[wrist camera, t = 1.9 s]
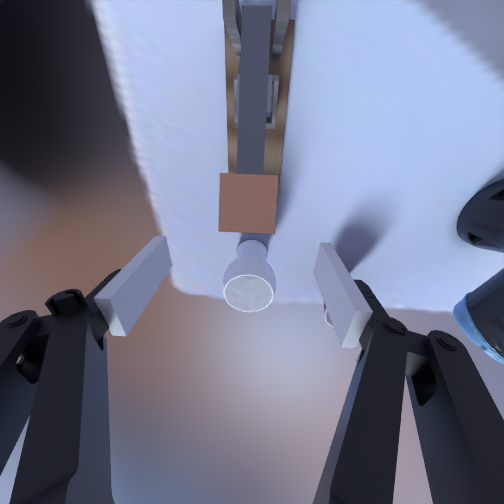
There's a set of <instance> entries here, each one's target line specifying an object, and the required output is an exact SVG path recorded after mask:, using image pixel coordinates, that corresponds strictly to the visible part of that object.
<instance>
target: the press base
mask: <svg viewBox="0 0 504 504" xmlns="http://www.w3.org/2000/svg"><path fill="white" fill-rule="evenodd" d="M290 1H291V0H277V2H276V11H275V20H271V31H270V51H269V71H268V75H272V93H271V112H270V117H266V132H265V153H264V173H263V175H278V189H277V201H278V191H279V181H280V170H281V160H282V149H283V139H284V128H285V118H286V108H287V97H288V87H289V76H290V66H291V56H292V45H293V35H294V24H295V20H289V12H290ZM222 3H223V20H224V29H225V64H226V99H227V134H228V169H229V173H231V174H236V169H237V140H238V116H237V113H236V102H237V74H240V56H241V27H242V17H241V11H240V6H239V0H222Z"/></svg>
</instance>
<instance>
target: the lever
mask: <svg viewBox="0 0 504 504" xmlns="http://www.w3.org/2000/svg"><path fill="white" fill-rule="evenodd" d="M271 11H272V6H242V27H241V56H240V74H237V102H236V113H237V116H238V140H237V169H236V174H231V173H220V195H219V231H220V232H242V233H264V234H275V224H276V207H277V189H278V175H263V173H264V153H265V132H266V117H270V112H271V93H272V75H268V71H269V51H270V31H271Z"/></svg>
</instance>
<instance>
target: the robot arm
mask: <svg viewBox="0 0 504 504" xmlns="http://www.w3.org/2000/svg"><path fill="white" fill-rule="evenodd" d="M457 232H458V235H459V236H460V238H461V239H462V240H464V241H465V242H467V243H469V244H471V245H473V246H475V247H478V248H482V249H487V250H493V251H498V252H503V253H504V179H503V180H500V181H498V182H496V183H494V184H492V185H490V186H488V187H486V188H485V189H483V190H482V191H481V192H479V193H478V194H477V195H476V196H474V197H473V198H472V199H471V200H470V201H469V203H468V204H467V205H466V206H465V207H464V209H463V210H462V212H461V214H460V216H459V219H458V222H457ZM171 267H172V262H171V258H170V253H169V248H168V244H167V239H166V236H155V237H154V238H153V239H152V240H151V241H150V242H149V243H148V244H147V245H146V246H145V247H144V248H143V249H142V250H141V251H140V252H139V253H138V254H137V255H136V256H135V257H134V258H133V259H132V260H131V261H130V262H129V263H128V264H127V265H126V266H125V267H124V268H123V269H118V270H116V271H114V272H113V273H111V274H110V275H108V276H107V277H106V278H105V279H104V281H102V282H101V283H100V284H99V286H97V287H96V288H95V289H94V290H93V291H92V292H91V293H89V294H88V295H87V296H86V297H85V298H84V296H83V295H82V293H81V291H80V290H78V289H69V290H65V291H62V292H59V293H57V294H55V295H53V296H52V297H50V298H49V299H48V300H47V301H46V303H45V305H46V306H47V308H48V309H49V310H50V312H51V313H52V315H47V316H42V317H39V316H38V314H37V313H36V312H35V311H33V310H26V311H21V312H18V313H15V314H13V315H10V316H9V317H7V318H6V319H4V320H2V322H1V323H0V475H1V473H2V471H3V469H4V467H5V465H6V463H7V461H8V459H9V457H10V455H11V453H12V451H13V449H14V447H15V445H16V442H17V441H18V439H19V436H20V434H21V432H22V430H23V428H24V426H25V424H26V422H27V420H28V418H29V416H30V419H29V423H28V427H27V432H26V436H25V440H24V444H23V448H22V453H21V457H20V461H19V466H18V469H17V474H16V478H15V482H14V487H13V491H12V495H11V500H10V503H9V504H115V503H114V501H113V497H112V490H111V465H110V435H109V407H108V405H109V404H108V376H107V375H108V374H107V344H106V337H105V335H104V334H105V333H106V331H107V330H108V329H110V331H111V333H112V335H116V336H127V334H128V333H129V331H130V330H131V328H132V327H133V325H134V324H135V322H136V321H137V319H138V318H139V316H140V314H141V313H142V311H143V310H144V308H145V307H146V305H147V304H148V302H149V301H150V299H151V298H152V296H153V295H154V293H155V291H156V290H157V289H158V287H159V285H160V284H161V282H162V281H163V279H164V278H165V276H166V275H167V273H168V272H169V270H170V269H171ZM314 275H315V278H316V280H317V283H318V286H319V289H320V291H321V294H322V297H323V300H324V302H325V305H326V308H327V311H328V313H329V316H330V319H331V322H332V324H333V327H334V330H335V333H336V335H337V338H338V341H339V343H340V346H341V348H356V346H357V344H358V342H360V344H361V346H362V350H361V352H360V354H359V356H358V358H357V360H356V362H357V365H356V368H355V371H354V374H353V377H352V381H351V384H350V387H349V390H348V393H347V396H346V400H345V403H344V406H343V409H342V412H341V415H340V419H339V422H338V425H337V428H336V432H335V435H334V438H333V441H332V444H331V447H330V450H329V454H328V457H327V460H326V463H325V467H324V469H323V473H322V476H321V479H320V482H319V485H318V489H317V492H316V495H315V498H314V501H313V504H392V503H393V494H394V483H395V473H396V463H397V453H398V443H399V433H400V423H401V412H402V401H403V392H404V382H405V375H406V379H407V384H408V388H409V393H410V398H411V403H412V408H413V412H414V417H415V421H416V426H417V431H418V435H419V440H420V445H421V449H422V454H423V458H424V463H425V468H426V473H427V477H428V482H429V487H430V491H431V496H432V501H433V504H504V420H503V418H502V416H501V414H500V412H499V410H498V408H497V407H496V405H495V403H494V401H493V399H492V397H491V395H490V393H489V392H488V389H487V387H486V386H485V383H484V382H483V380H482V378H481V376H480V374H479V372H478V370H477V368H476V366H475V364H474V362H473V361H472V359H471V357H470V355H469V353H468V351H467V349H466V348H465V346H464V345H463V344H462V343H461V342H460V341H459V340H458V339H456V338H455V337H453V336H452V335H450V334H448V333H445V332H443V331H438V330H434V331H431V332H430V333H429V334H428V335H427V336H425V335H421V334H418V333H414V332H411V331H408V330H407V328H406V327H405V326H404V325H403V324H402V323H401V322H400V321H398V320H396V319H394V318H391V317H389V315H388V314H387V313H386V311H385V310H384V308H383V307H382V305H381V304H380V302H379V301H378V299H377V298H376V296H375V295H374V294H373V293H372V291H371V289H370V288H369V286H368V285H367V284H365V283H364V282H363V281H362V280H353V279H352V277H351V275H350V274H349V272H348V270H347V269H346V267H345V265H344V264H343V262H342V261H341V259H340V257H339V256H338V254H337V252H336V251H335V249H334V247H333V246H332V244H331V243H320V247H319V251H318V255H317V260H316V264H315V268H314ZM453 315H454V318H455V320H456V322H457V324H458V325H459V327H460V328H461V329H462V331H463V332H464V333H465V334H466V335H467V336H468V337H469V339H471V341H472V342H474V343H475V344H476V345H478V346H480V348H481V349H482V350H483V351H484V352H485V353H486V354H488V355H489V356H490V357H492V358H493V359H495V360H496V361H498V362H500V363H502V364H504V268H503V269H502V270H501V271H499V272H498V273H497V274H495V275H494V276H493V277H491V278H490V279H489V280H487V281H486V282H485V283H483V284H482V285H481V286H479V287H478V288H477V289H475V290H474V291H473V292H470V293H468V294H466V295H465V297H464V298H463V299H462V300H461V301H460V302H459V303H457V304H456V305H455V307H454V309H453ZM19 356H20V357H21V359H20V361H19V362H18V363H17V364H16V362H17V360H18V357H19ZM30 414H31V415H30Z"/></svg>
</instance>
